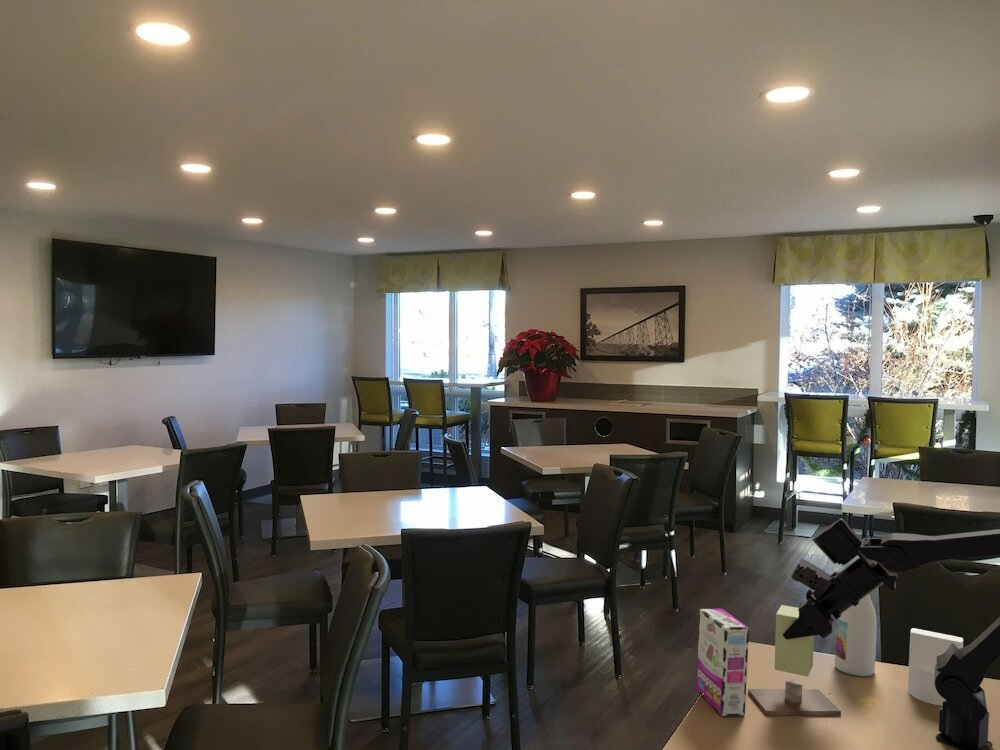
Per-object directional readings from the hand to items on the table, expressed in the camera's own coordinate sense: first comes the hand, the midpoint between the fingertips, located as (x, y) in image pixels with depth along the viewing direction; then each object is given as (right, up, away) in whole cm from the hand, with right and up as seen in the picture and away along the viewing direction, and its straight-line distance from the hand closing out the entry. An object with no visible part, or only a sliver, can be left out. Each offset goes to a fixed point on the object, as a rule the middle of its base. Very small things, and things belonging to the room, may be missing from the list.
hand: (787, 631), depth 148 cm
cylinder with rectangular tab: (+30, -14, +5) cm, 34 cm away
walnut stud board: (+1, -13, -1) cm, 13 cm away
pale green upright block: (+1, -7, 0) cm, 7 cm away
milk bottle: (+20, -13, +16) cm, 29 cm away
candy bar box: (-13, -13, -1) cm, 19 cm away
